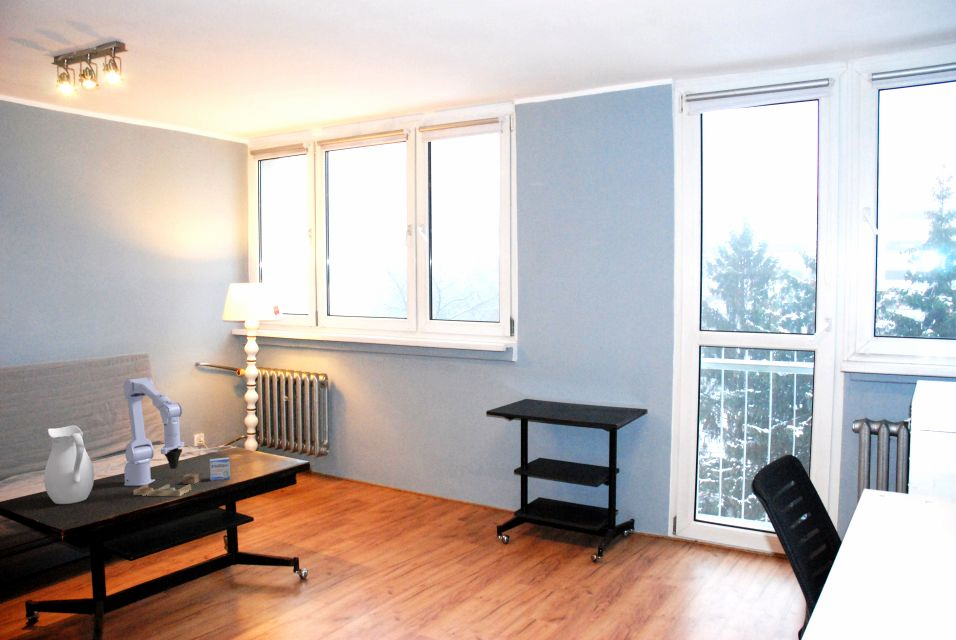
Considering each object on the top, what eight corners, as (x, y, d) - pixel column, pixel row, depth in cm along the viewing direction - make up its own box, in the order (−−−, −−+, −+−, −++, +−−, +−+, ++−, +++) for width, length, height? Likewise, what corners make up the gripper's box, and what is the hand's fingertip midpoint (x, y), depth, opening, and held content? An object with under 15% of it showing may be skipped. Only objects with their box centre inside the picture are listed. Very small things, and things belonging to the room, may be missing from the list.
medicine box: (210, 481, 314) (209, 460, 313) (210, 479, 318) (209, 458, 317) (230, 479, 316) (229, 458, 316) (229, 476, 321) (228, 456, 320)
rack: (133, 495, 294) (133, 488, 294) (146, 489, 303) (145, 482, 303) (180, 496, 292) (179, 488, 292) (191, 489, 301) (190, 482, 301)
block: (183, 484, 310) (182, 476, 310) (189, 481, 315) (188, 473, 315) (194, 484, 309) (194, 476, 309) (200, 481, 314) (200, 473, 314)
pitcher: (40, 500, 291) (36, 429, 290) (88, 491, 302) (84, 422, 301) (56, 513, 273) (51, 437, 272) (106, 503, 284) (102, 430, 283)
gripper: (172, 437, 289) (174, 472, 290) (190, 430, 304) (192, 463, 304) (154, 438, 290) (156, 472, 291) (174, 430, 305) (175, 463, 305)
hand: (173, 468), depth 298 cm, fingers closed
